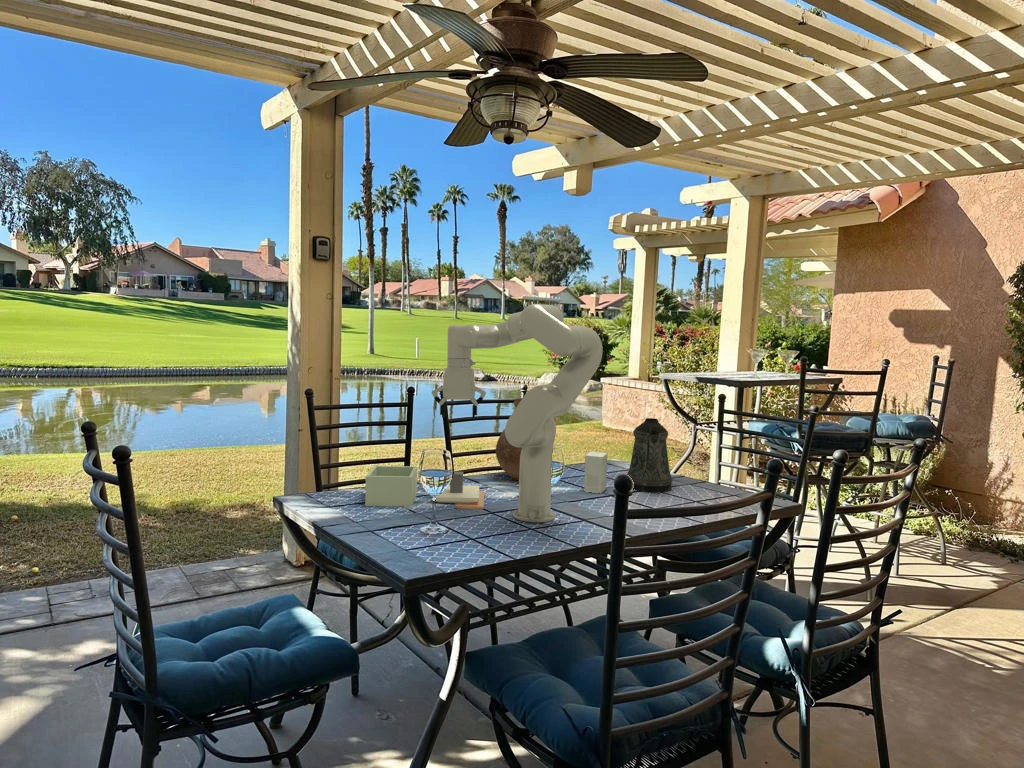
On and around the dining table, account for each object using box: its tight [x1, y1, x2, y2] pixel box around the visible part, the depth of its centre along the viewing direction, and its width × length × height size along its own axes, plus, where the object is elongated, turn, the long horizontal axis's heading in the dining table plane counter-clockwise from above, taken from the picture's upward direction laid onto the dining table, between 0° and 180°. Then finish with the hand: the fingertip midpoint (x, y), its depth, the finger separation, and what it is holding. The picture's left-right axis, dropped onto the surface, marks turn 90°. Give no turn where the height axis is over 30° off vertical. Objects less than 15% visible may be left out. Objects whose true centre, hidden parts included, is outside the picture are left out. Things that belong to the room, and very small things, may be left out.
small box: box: [583, 451, 608, 494], centre depth 238 cm, size 8×6×13 cm
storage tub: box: [364, 465, 418, 507], centre depth 214 cm, size 16×14×10 cm
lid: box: [435, 471, 480, 504], centre depth 219 cm, size 17×15×8 cm
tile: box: [453, 490, 485, 510], centre depth 220 cm, size 20×18×1 cm
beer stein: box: [626, 417, 673, 494], centre depth 243 cm, size 16×19×25 cm
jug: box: [495, 397, 523, 482], centre depth 253 cm, size 22×22×30 cm
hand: (458, 417), depth 217 cm, fingers open, 9 cm apart
